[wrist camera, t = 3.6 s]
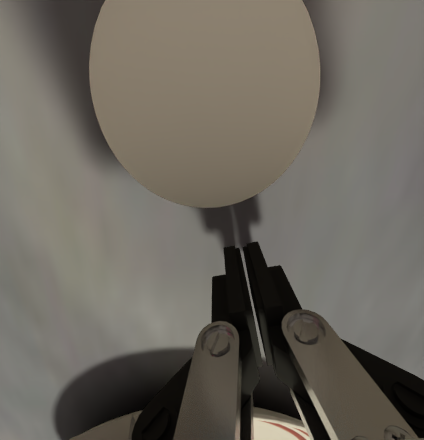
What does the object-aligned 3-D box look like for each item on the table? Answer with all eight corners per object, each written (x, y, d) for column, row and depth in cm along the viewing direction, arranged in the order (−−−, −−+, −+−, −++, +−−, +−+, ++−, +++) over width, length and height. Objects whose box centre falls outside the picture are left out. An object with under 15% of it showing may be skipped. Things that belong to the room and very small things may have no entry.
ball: (165, 195, 10) (110, 269, 5) (115, 51, 8) (-98, -118, 3) (286, 166, 10) (380, 212, 4) (269, 0, 7) (426, -376, 2)
